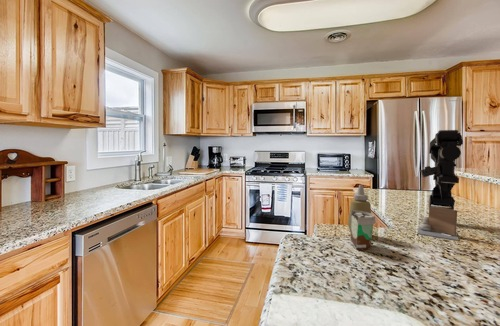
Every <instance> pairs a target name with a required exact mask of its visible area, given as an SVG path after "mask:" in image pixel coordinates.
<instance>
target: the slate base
mask: <svg viewBox="0 0 500 326" xmlns="http://www.w3.org/2000/svg"><path fill="white" fill-rule="evenodd" d="M417 235H419V236H420V235H422V236H425V237H426V236H427V237H432V238H439V239H445V240H451V241H457V242H459V240H460V239H459V237H458V234H457V232H456V235H452V234H447V233H443V232H438V231H434V230H423V229H420V225H419V226H418V230H417Z"/></svg>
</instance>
